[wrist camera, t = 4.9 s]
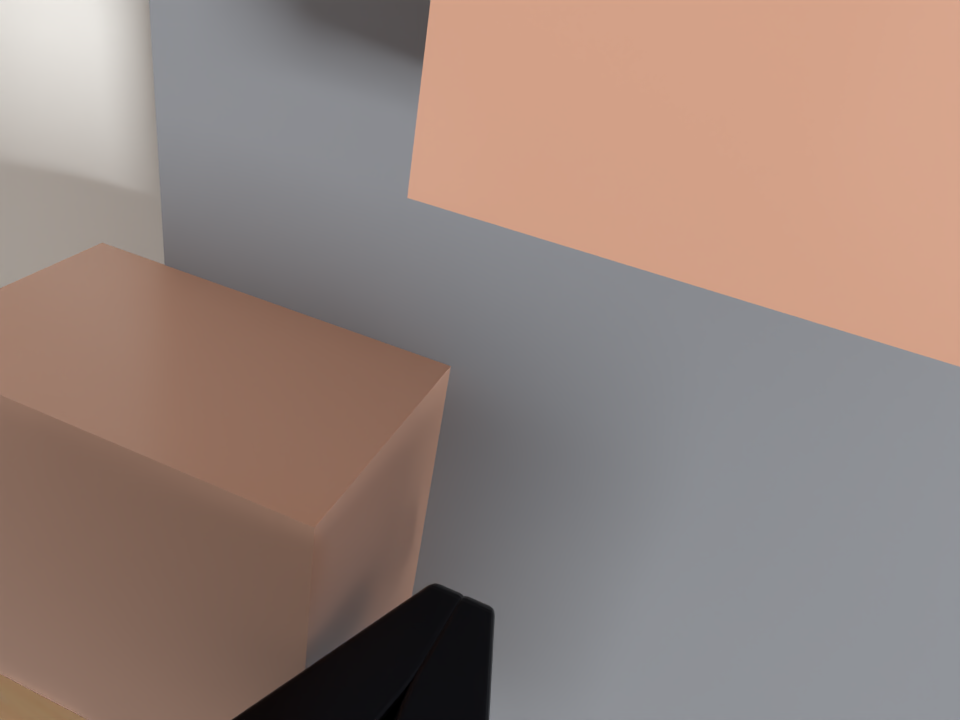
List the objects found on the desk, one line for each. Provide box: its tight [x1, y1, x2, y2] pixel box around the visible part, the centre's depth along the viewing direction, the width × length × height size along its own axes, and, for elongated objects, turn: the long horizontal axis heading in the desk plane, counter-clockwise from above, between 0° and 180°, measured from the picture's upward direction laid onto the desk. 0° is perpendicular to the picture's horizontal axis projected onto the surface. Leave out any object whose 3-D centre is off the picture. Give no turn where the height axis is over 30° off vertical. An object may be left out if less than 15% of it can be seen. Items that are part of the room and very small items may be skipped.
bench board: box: [149, 0, 960, 720], centre depth 9 cm, size 18×11×2 cm, turn 170°
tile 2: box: [0, 243, 451, 720], centre depth 10 cm, size 5×5×3 cm
